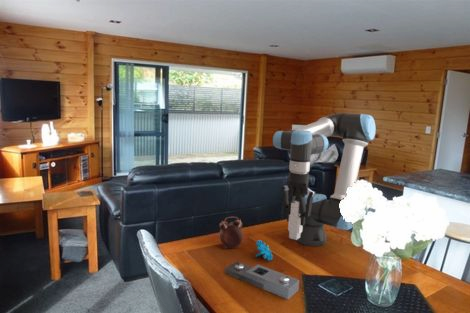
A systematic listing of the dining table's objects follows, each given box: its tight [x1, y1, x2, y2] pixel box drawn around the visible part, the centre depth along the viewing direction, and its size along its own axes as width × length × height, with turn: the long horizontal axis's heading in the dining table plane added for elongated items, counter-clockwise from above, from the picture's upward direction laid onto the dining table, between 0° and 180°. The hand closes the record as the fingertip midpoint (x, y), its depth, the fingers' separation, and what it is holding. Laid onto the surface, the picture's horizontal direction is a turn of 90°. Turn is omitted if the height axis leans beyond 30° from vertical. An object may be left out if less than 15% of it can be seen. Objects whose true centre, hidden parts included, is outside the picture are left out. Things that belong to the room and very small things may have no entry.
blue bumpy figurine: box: [255, 239, 274, 262], centre depth 151 cm, size 11×6×10 cm
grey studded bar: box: [224, 260, 300, 300], centre depth 131 cm, size 8×28×5 cm, turn 53°
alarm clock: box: [218, 215, 244, 249], centre depth 159 cm, size 11×5×15 cm, turn 105°
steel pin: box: [288, 200, 301, 241], centre depth 133 cm, size 3×3×14 cm
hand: (295, 231), depth 133 cm, fingers closed on steel pin, 3 cm apart
